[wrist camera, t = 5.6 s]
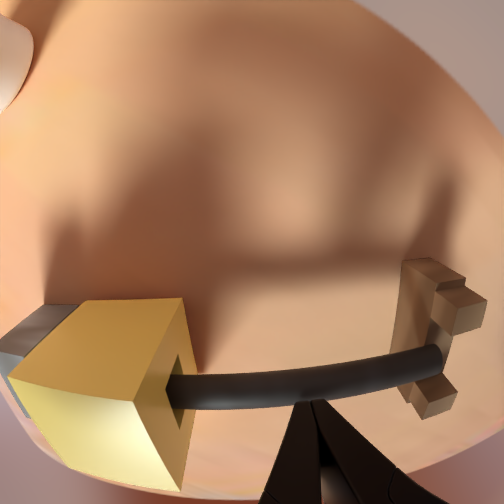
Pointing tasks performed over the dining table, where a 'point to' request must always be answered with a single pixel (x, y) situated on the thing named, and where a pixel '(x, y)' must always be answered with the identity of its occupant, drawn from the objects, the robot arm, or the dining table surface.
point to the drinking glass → (13, 58)
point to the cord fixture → (328, 376)
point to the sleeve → (113, 390)
